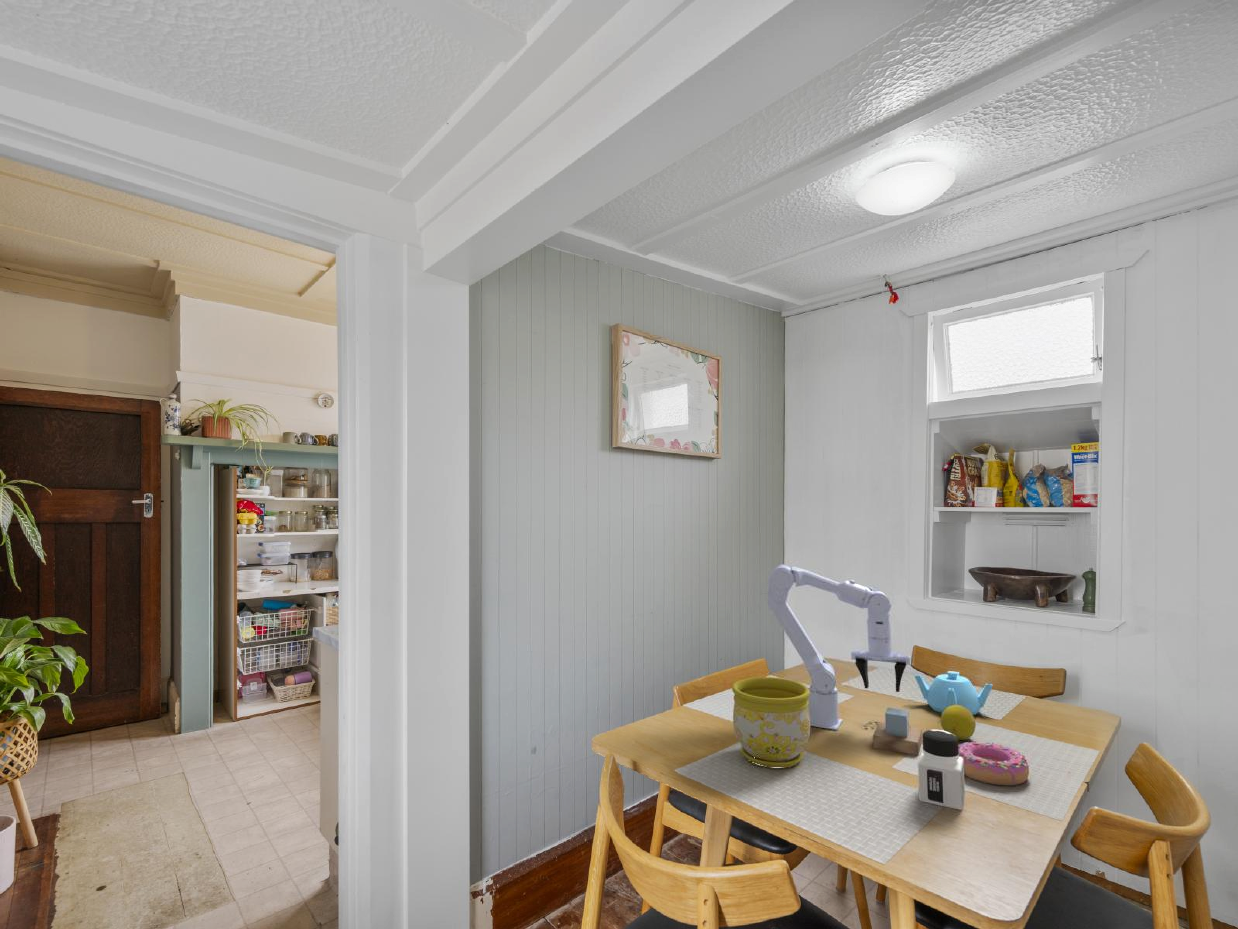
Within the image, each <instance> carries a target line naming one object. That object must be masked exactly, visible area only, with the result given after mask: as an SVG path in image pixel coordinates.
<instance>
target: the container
mask: <svg viewBox="0 0 1238 929" xmlns="http://www.w3.org/2000/svg"><path fill="white" fill-rule="evenodd" d="M958 745H959V740H958V738H957V737H956V736H955V735H953V734H951V733H949V732H947V731H944V730H943V729H942V730H941V729H929V730H928V729H927V730H925V731H924V732H922V750H921V753H920V755H919V756H920V757H919V759H918V762H917V774H918V775H917V776H918V778H917V779H918V799H919V801H920V802H923V803H927V804H932V805H936V806H941V807H946V808H950V809H955V810H957V811H962V810H963V807H964V803H965V802H964V800H965V795H966V793H965V792H966V791H965V790H966V789H965V788H966V787H965V774H964V759H963V758H962V757H959V748H958Z"/></svg>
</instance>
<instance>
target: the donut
mask: <svg viewBox="0 0 1238 929" xmlns="http://www.w3.org/2000/svg"><path fill="white" fill-rule="evenodd" d="M958 748H959V757H962V758H963V759H964V776H966V777H969V778H970V779H972V780H975V781H978V782H982V783H985V784H990V785H995V786H1016V785H1020V784H1023V783H1025V782H1026V781H1027V780H1028V778H1029V774H1030V768H1029V767H1030V765H1029V762H1028V761H1027V759H1026V756H1025V755H1023V754H1021V753H1020V752H1019V751H1017V750H1016V749H1013V748H1011V747H1008V746H1005V745H1002V744H998V743H997V744H995V743H994V742H981V741H980V742H979V741H978V742H977V741H971V742H970V741H968V742H963V743H960V744H959V743H958Z"/></svg>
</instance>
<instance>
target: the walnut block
mask: <svg viewBox="0 0 1238 929" xmlns="http://www.w3.org/2000/svg"><path fill="white" fill-rule="evenodd" d="M922 734H923V730H922V728H917V727H911V726H909V733H908V736H907V737H901V736H895V735H889V734H886V722H880V721H879V722H878V724H877V726H876V728H875V730H874V731H873V735H872V737H873V739H872V741H873V748H875V749H881V750H885V751H886V750H887V751H892V752H897V753H904V754H908V755H915V756H920V751H921V746H922V744H923V738H922Z"/></svg>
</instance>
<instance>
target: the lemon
mask: <svg viewBox="0 0 1238 929" xmlns="http://www.w3.org/2000/svg"><path fill="white" fill-rule="evenodd" d="M940 724H941V727H942V730H943V731H947V732H949V733H951V734H953V735H955V736H956V737H957V738H958V741H964V740H968V739H970V738H971V737H973V734H974V733H975V730H976V718H975V716H973V715H972V714H971V712H970V711H969V710H968V709H966V708H965V707H963V706H960V705H952V706H949V707H947V708H946V709H945V710H944V711H943V713H941V714H940Z"/></svg>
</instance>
